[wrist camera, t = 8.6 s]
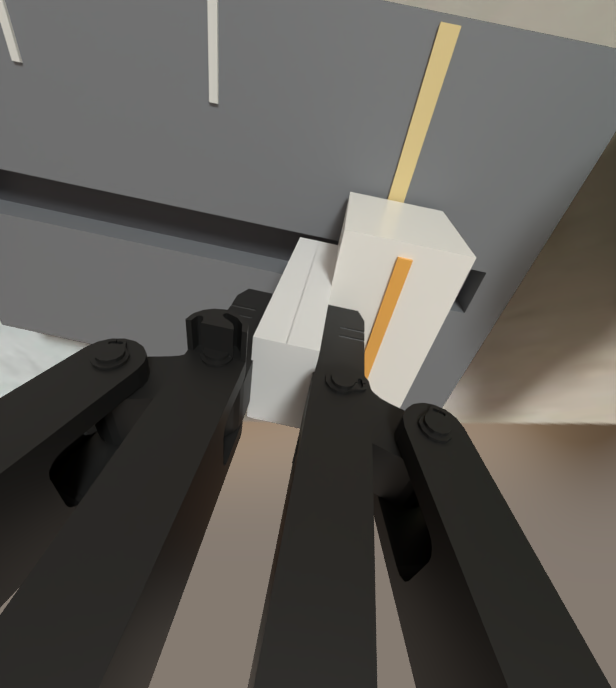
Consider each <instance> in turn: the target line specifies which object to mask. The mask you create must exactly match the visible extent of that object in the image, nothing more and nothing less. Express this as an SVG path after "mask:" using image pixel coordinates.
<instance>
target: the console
mask: <svg viewBox="0 0 616 688" xmlns="http://www.w3.org/2000/svg"><path fill="white" fill-rule="evenodd" d="M615 132H616V48H612V47H607V46H602V45H597V44H593V43H588V42H583V41H578V40H573V39H568V38H563V37H558V36H554V35H549V34H544V33H539V32H534V31H529V30H524V29H520V28H515V27H510V26H505V25H500V24H495V23H490V22H486V21H481V20H476V19H471V18H466V17H461V16H456V15H452V14H447V13H442V12H437V11H432V10H427V9H422V8H418V7H413V6H408V5H403V4H398V3H393V2H388V1H383V0H0V321H1V323H2V325H7V326H11V327H16V328H20V329H25V330H30V331H34V332H39V333H43V334H48V335H53V336H57V337H62V338H66V339H71V340H75V341H80V342H85V343H89V344H93V343H96V342H98V341H102V340H107V339H112V338H125V339H129V340H133V341H136V342H138V343H139V344H141V345H142V346H143V347H144V349H145V351H146V353H147V356H149V357H153V356H180V355H184V354H185V353H186V352H187V350H188V346H187V334H186V321H185V319H186V318H188V317H189V316H190V315H191V314H193V313H195V312H198V311H201V310H206V309H225V310H228V309H229V307H230V306H231V305H232V303H233V301H234V300H235V298H236V296H237V295H238V294H240V293H242V292H244V291H245V290H247V289H253V290H258V291H263V292H267V293H272V294H273V293H274V291H275V289H276V287H277V285H278V283H279V281H280V279H281V277H282V274H283V272H284V270H285V268H286V266H287V264H288V262H289V260H290V258H291V255H292V253H293V251H294V249H295V247H296V245H297V243H298V241H299V239H300V237H302V238H307V239H312V240H316V241H321V242H326V243H330V244H335V245H338V243H339V239H340V235H341V230H342V226H343V221H344V217H345V213H346V208H347V204H348V199H349V195H350V192H354V193H359V194H364V195H369V196H373V197H378V198H383V199H387V200H392V201H397V202H402V203H406V204H411V205H416V206H421V207H425V208H430V209H435V210H439V211H443V212H444V213H445V215H446V216H447V218H448V219H449V220H450V222H451V223H452V225H453V226H454V227H455V229H456V230H457V231H458V233H459V234H460V236H461V237H462V238H463V240H464V241H465V243H466V244H467V245H468V247H469V248H470V249H471V251H472V252H473V254H474V255H475V256H476V260H475V262H474V264H473V265H472V267H471V269H470V271H469V273H468V275H467V277H466V279H465V281H464V283H463V285H462V287H461V289H460V291H459V293H458V295H457V297H456V299H455V301H454V303H453V305H452V307H451V309H450V311H449V313H448V315H447V317H446V319H445V320H444V322H443V324H442V326H441V328H440V330H439V332H438V334H437V336H436V338H435V340H434V342H433V344H432V346H431V348H430V350H429V352H428V354H427V356H426V358H425V360H424V362H423V364H422V366H421V368H420V370H419V372H418V374H417V376H416V377H415V379H414V381H413V383H412V385H411V387H410V389H409V391H408V393H407V395H406V397H405V399H404V401H403V403H402V405H401V407H400V409H403V410H406V408H408V407H409V406H411V405H412V404H416V403H428V404H433V405H436V406H438V407H440V408H442V407H443V406H444V404H445V403H446V401H447V399H448V398H449V396H450V395H451V393H452V391H453V390H454V388H455V387H456V385H457V383H458V382H459V380H460V379H461V377H462V375H463V374H464V372H465V371H466V369H467V368H468V366H469V364H470V363H471V361H472V360H473V358H474V356H475V355H476V353H477V352H478V350H479V348H480V347H481V345H482V344H483V342H484V340H485V339H486V337H487V336H488V334H489V333H490V331H491V329H492V328H493V326H494V325H495V323H496V321H497V320H498V318H499V317H500V315H501V313H502V312H503V310H504V309H505V307H506V306H507V304H508V302H509V301H510V299H511V298H512V296H513V294H514V293H515V291H516V290H517V288H518V286H519V285H520V283H521V282H522V280H523V278H524V277H525V275H526V274H527V272H528V271H529V269H530V267H531V266H532V264H533V263H534V261H535V259H536V258H537V256H538V255H539V253H540V251H541V250H542V248H543V247H544V245H545V243H546V242H547V240H548V239H549V237H550V236H551V234H552V232H553V231H554V229H555V228H556V226H557V224H558V223H559V221H560V220H561V218H562V216H563V215H564V213H565V212H566V210H567V209H568V207H569V205H570V204H571V202H572V201H573V199H574V197H575V196H576V194H577V193H578V191H579V189H580V188H581V186H582V185H583V183H584V181H585V180H586V178H587V177H588V175H589V174H590V172H591V170H592V169H593V167H594V166H595V164H596V162H597V161H598V159H599V158H600V156H601V154H602V153H603V151H604V150H605V148H606V146H607V145H608V143H609V142H610V140H611V139H612V137H613V135H614V134H615Z"/></svg>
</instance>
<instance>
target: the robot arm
mask: <svg viewBox="0 0 616 688" xmlns="http://www.w3.org/2000/svg"><path fill="white" fill-rule="evenodd" d="M338 246H339V245H335V244H330V243H326V242H321V241H316V240H312V239H307V238H302V237H300V239H299V241H298V243H297V245H296V247H295V249H294V251H293V253H292V255H291V258H290V260H289V262H288V264H287V266H286V268H285V270H284V272H283V274H282V277H281V279H280V281H279V283H278V285H277V287H276V289H275V291H274V293H273V294H272V293H267V292H263V291H258V290H253V289H247V290H245V291H244V292H242V293H240V294H238V295H237V296H236V298H235V300H234V301H233V303H232V305H231V306H230V307H229V309H228V310H225V309H206V310H201V311H198V312H195V313H193V314H191V315H190V316H189V317H188V318H186V319H185V321H186V334H187V346H188V350H187V352H186V353H185V354H184V355H180V356H153V357H147V353H146V351H145V349H144V347H143V346H142V345H141V344H139V343H138V342H136V341H133V340H129V339H125V338H112V339H107V340H102V341H98V342H96V343H93V344H91V345H89V346H87V347H85V348H83V349H81V350H80V351H78V352H76V353H75V354H73V355H71V356H70V357H68V358H66V359H65V360H63V361H61V362H60V363H58V364H56V365H55V366H53V367H51V368H50V369H48V370H46V371H45V372H43V373H41V374H40V375H38V376H36V377H35V378H33V379H31V380H30V381H28V382H26V383H25V384H23V385H21V386H20V387H18V388H16V389H14V390H13V391H11V392H9V393H8V394H6V395H4V396H3V397H1V398H0V607H1V606H2V605H3V604H4V603H5V602H6V601H7V600H8V599H9V598H10V596H12V594H13V593H14V592H15V591H16V590H17V589H18V588H19V587H20V588H19V589H18V591H17V592H16V593H15V595H14V596H13V598H12V599H11V600H10V602H9V603H8V605H7V606H6V608H5V609H4V611H3V612H2V613H1V615H0V688H148V687H149V684H150V681H151V678H152V676H153V673H154V671H155V668H156V665H157V662H158V660H159V657H160V654H161V651H162V649H163V646H164V643H165V641H166V638H167V635H168V632H169V629H170V627H171V624H172V621H173V619H174V616H175V613H176V611H177V608H178V605H179V602H180V599H181V597H182V594H183V592H184V589H185V586H186V583H187V580H188V578H189V575H190V572H191V570H192V567H193V564H194V561H195V559H196V556H197V553H198V551H199V548H200V545H201V542H202V540H203V537H204V534H205V531H206V529H207V526H208V523H209V521H210V518H211V515H212V512H213V510H214V507H215V504H216V502H217V499H218V496H219V493H220V491H221V488H222V485H223V483H224V480H225V477H226V474H227V472H228V469H229V466H230V463H231V461H232V458H233V455H234V453H235V450H236V447H237V444H238V441H239V439H240V436H241V431H242V420H243V418H244V415H245V413H246V410H247V407H248V410H247V417H250V418H255V419H259V420H264V421H268V422H273V423H277V424H282V425H286V426H291V427H295V428H300V432H299V437H298V441H297V445H296V449H295V454H294V457H293V462H292V463H293V464H292V470H291V474H290V480H289V484H288V489H287V494H286V500H285V504H284V509H283V515H282V519H281V524H280V529H279V534H278V539H277V544H276V549H275V554H274V559H273V564H272V569H271V574H270V579H269V584H268V589H267V594H266V599H265V604H264V609H263V614H262V619H261V624H260V629H259V634H258V639H257V644H256V649H255V654H254V659H253V664H252V669H251V674H250V679H249V684H248V688H377V657H376V656H377V654H376V606H375V556H374V518H375V522H376V526H377V530H378V534H379V538H380V542H381V546H382V551H383V554H384V559H385V562H386V567H387V571H388V575H389V579H390V583H391V587H392V591H393V596H394V600H395V603H396V608H397V612H398V616H399V620H400V624H401V628H402V632H403V636H404V640H405V645H406V649H407V652H408V657H409V661H410V664H411V669H412V673H413V677H414V681H415V685H416V688H611V686H610V684H609V683H608V681H607V679H606V677H605V676H604V674H603V672H602V671H601V669H600V667H599V665H598V663H597V662H596V660H595V658H594V656H593V655H592V653H591V651H590V649H589V648H588V646H587V644H586V643H585V640H584V639H583V637H582V635H581V634H580V632H579V630H578V629H577V626H576V624H575V623H574V621H573V619H572V617H571V616H570V614H569V612H568V611H567V609H566V607H565V605H564V603H563V602H562V600H561V598H560V596H559V595H558V593H557V591H556V589H555V587H554V586H553V584H552V582H551V580H550V579H549V577H548V575H547V573H546V572H545V570H544V568H543V566H542V565H541V563H540V561H539V559H538V557H537V556H536V554H535V552H534V550H533V549H532V547H531V545H530V543H529V542H528V540H527V538H526V536H525V535H524V533H523V531H522V529H521V528H520V526H519V524H518V522H517V520H516V519H515V517H514V515H513V514H512V512H511V510H510V508H509V506H508V505H507V503H506V501H505V499H504V498H503V496H502V494H501V493H500V490H499V489H498V487H497V485H496V483H495V482H494V480H493V479H492V476H491V475H490V473H489V471H488V469H487V468H486V466H485V464H484V462H483V461H482V459H481V457H480V455H479V453H478V452H477V450H476V448H475V446H474V445H473V443H472V441H471V439H470V438H469V436H468V434H467V432H466V431H465V429H464V427H463V426H462V425H461V423H460V422H459V421H458V420H457V418H455V417H454V416H453V415H452V414H450V413H449V412H448V411H446V410H445V409H442V408H440V407H438V406H436V405H433V404H428V403H416V404H412V405H411V406H409V407H408V408H406V410H403V409H400V408H398V407H396V406H394V405H392V404H390V403H388V402H386V401H385V400H383V399H381V398H380V397H379V396H377V395H376V394H375V393H374V392H373V391H372V390H371V387H370V384H369V381H368V380H367V378H366V377H365V350H364V320H363V318H362V316H361V315H360V313H359V312H358V311H356V310H351V309H346V308H342V307H337V306H332V305H328V302H329V297H330V291H331V285H332V280H333V274H334V268H335V263H336V257H337V251H338Z"/></svg>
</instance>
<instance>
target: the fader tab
mask: <svg viewBox="0 0 616 688" xmlns="http://www.w3.org/2000/svg"><path fill="white" fill-rule="evenodd" d="M338 245H339V246H338V251H337V257H336V263H335V268H334V274H333V280H332V285H331V291H330V297H329V302H328V305H332V306H337V307H342V308H346V309H351V310H356V311H358V312H359V313H360V315H361V316H362V318H363V320H364V350H365V377H366V378H367V380H368V381H369V384H370V387H371V390H372V391H373V392H374V393H375V394H376V395H377V396H379V397H380V398H381V399H383V400H385V401H386V402H388V403H390V404H392V405H394V406H396V407H398V408H400V407H401V405H402V403H403V401H404V399H405V397H406V395H407V393H408V391H409V389H410V387H411V385H412V383H413V381H414V379H415V377H416V376H417V374H418V372H419V370H420V368H421V366H422V364H423V362H424V360H425V358H426V356H427V354H428V352H429V350H430V348H431V346H432V344H433V342H434V340H435V338H436V336H437V334H438V332H439V330H440V328H441V326H442V324H443V322H444V320H445V319H446V317H447V315H448V313H449V311H450V309H451V307H452V305H453V303H454V301H455V299H456V297H457V295H458V293H459V291H460V289H461V287H462V285H463V283H464V281H465V279H466V277H467V275H468V273H469V271H470V269H471V267H472V265H473V264H474V262H475V260H476V256H475V255H474V254H473V252H472V251H471V249H470V248H469V247H468V245H467V244H466V243H465V241H464V240H463V238H462V237H461V236H460V234H459V233H458V231H457V230H456V229H455V227H454V226H453V225H452V223H451V222H450V220H449V219H448V218H447V216H446V215H445V213H444V212H443V211H439V210H435V209H430V208H425V207H421V206H416V205H411V204H406V203H402V202H397V201H392V200H387V199H383V198H378V197H373V196H369V195H364V194H359V193H354V192H350V195H349V199H348V204H347V208H346V213H345V217H344V221H343V226H342V230H341V235H340V239H339V243H338Z"/></svg>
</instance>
